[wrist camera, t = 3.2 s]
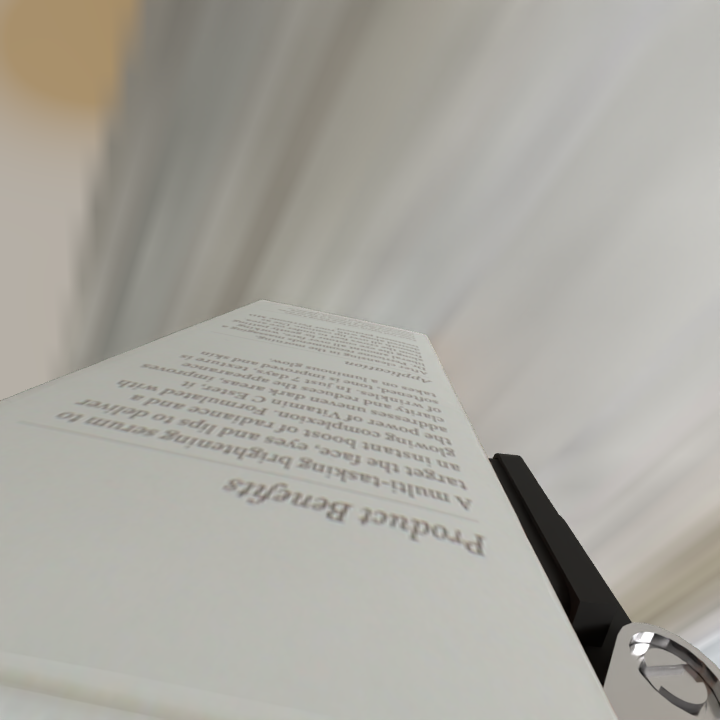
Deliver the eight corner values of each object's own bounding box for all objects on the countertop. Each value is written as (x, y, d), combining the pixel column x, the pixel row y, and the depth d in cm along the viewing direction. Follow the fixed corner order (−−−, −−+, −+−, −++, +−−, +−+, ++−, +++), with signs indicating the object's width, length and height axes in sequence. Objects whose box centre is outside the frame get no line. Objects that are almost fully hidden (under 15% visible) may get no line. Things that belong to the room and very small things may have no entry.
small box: (378, 529, 14) (360, 1276, 4) (235, 499, 14) (-158, 1163, 4) (432, 329, 11) (790, 949, 1) (259, 292, 11) (-674, 632, 1)
